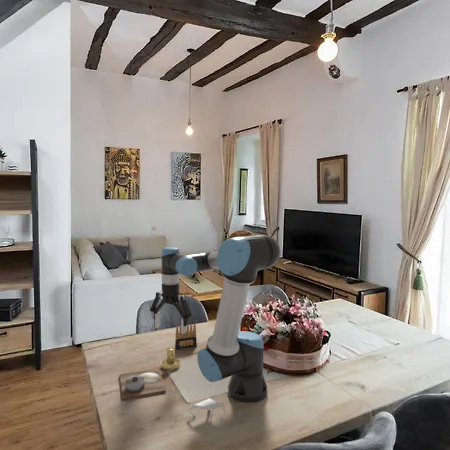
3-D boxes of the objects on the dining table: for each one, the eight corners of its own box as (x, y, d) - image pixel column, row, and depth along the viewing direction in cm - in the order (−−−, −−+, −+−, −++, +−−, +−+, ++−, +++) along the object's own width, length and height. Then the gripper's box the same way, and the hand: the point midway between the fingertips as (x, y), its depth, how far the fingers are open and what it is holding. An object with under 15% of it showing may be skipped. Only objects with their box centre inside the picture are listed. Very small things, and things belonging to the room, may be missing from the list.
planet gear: (181, 369, 158) (181, 351, 157) (163, 372, 156) (163, 354, 155) (177, 361, 166) (177, 344, 165) (160, 363, 163) (160, 346, 162)
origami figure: (218, 406, 131) (218, 393, 131) (226, 420, 124) (226, 406, 123) (186, 412, 127) (186, 399, 127) (192, 427, 119) (192, 413, 119)
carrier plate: (165, 392, 140) (165, 380, 139) (122, 400, 134) (122, 387, 134) (158, 370, 157) (157, 359, 156) (119, 376, 151) (119, 365, 151)
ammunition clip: (195, 345, 183) (195, 322, 182) (196, 346, 181) (196, 323, 180) (175, 348, 179) (174, 324, 178) (175, 349, 178) (175, 326, 176)
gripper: (199, 284, 155) (199, 332, 157) (152, 277, 166) (152, 322, 168) (190, 288, 148) (190, 338, 151) (141, 281, 159) (142, 327, 161)
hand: (170, 330), depth 159 cm, fingers open, 13 cm apart
